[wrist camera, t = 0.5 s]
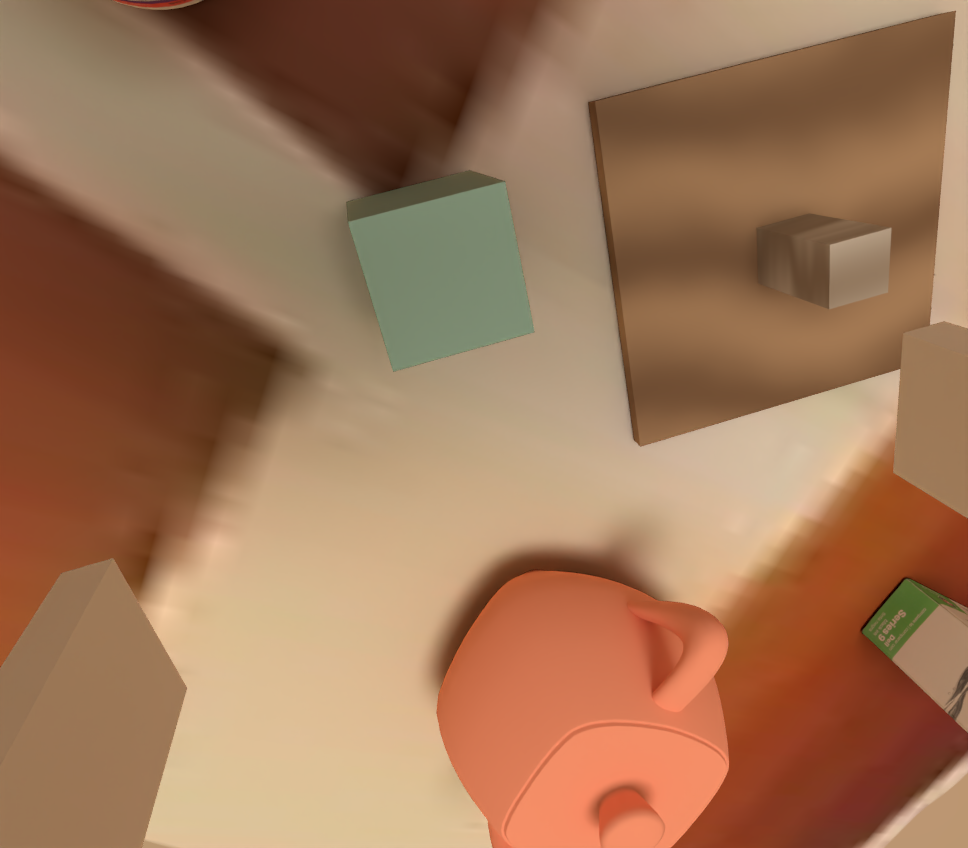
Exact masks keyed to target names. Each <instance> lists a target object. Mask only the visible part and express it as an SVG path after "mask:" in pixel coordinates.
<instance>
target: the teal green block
mask: <svg viewBox="0 0 968 848" xmlns="http://www.w3.org/2000/svg"><path fill="white" fill-rule="evenodd" d="M347 217H348V224H349V228H350V231H351V234H352V238H353V241H354V244H355V247H356V251H357V254H358V257H359V261H360V264H361V267H362V270H363V274H364V277H365V280H366V284H367V287H368V290H369V294H370V297H371V300H372V303H373V307H374V310H375V313H376V317H377V320H378V323H379V326H380V330H381V333H382V336H383V340H384V343H385V346H386V349H387V353H388V356H389V359H390V363H391V366H392V369H393V372H394V371H398V370H401V369H405V368H409V367H412V366H416V365H419V364H423V363H426V362H430V361H434V360H437V359H441V358H444V357H448V356H451V355H455V354H459V353H462V352H466V351H469V350H473V349H476V348H480V347H484V346H487V345H491V344H494V343H498V342H501V341H505V340H509V339H512V338H516V337H519V336H523V335H526V334H530V333H534V327H533V322H532V317H531V311H530V306H529V301H528V296H527V291H526V286H525V281H524V276H523V271H522V265H521V260H520V255H519V250H518V245H517V240H516V235H515V230H514V224H513V219H512V214H511V209H510V204H509V199H508V194H507V189H506V184H505V181H502V180H499V179H496V178H493V177H489V176H486V175H483V174H480V173H476V172H473V171H470V170H469V171H465V172H462V173H458V174H454V175H450V176H446V177H442V178H438V179H434V180H430V181H426V182H423V183H419V184H415V185H411V186H407V187H403V188H399V189H395V190H391V191H387V192H384V193H380V194H376V195H372V196H368V197H364V198H360V199H356V200H352V201H348V202H347Z"/></svg>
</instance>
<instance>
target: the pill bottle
mask: <svg viewBox="0 0 968 848" xmlns="http://www.w3.org/2000/svg"><path fill="white" fill-rule="evenodd" d="M112 1H114V2H117V3H120V4H124V5H128V6H131V7H136V8H142V9H153V10H168V9H175V8H182V7H185V6H189V5H192V4H196V3H198V2H200V1H202V0H112Z"/></svg>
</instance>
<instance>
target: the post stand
mask: <svg viewBox="0 0 968 848" xmlns="http://www.w3.org/2000/svg"><path fill="white" fill-rule="evenodd" d="M955 14H956V11H952V12H947V13H942V14H938V15H934V16H930V17H926V18H922V19H918V20H914V21H910V22H906V23H902V24H898V25H894V26H890V27H886V28H882V29H878V30H874V31H870V32H866V33H862V34H858V35H854V36H850V37H846V38H842V39H838V40H834V41H830V42H827V43H823V44H819V45H815V46H811V47H807V48H803V49H799V50H795V51H791V52H787V53H783V54H779V55H775V56H771V57H767V58H763V59H759V60H755V61H751V62H747V63H743V64H739V65H735V66H731V67H727V68H723V69H719V70H715V71H711V72H707V73H703V74H699V75H695V76H691V77H687V78H683V79H679V80H675V81H671V82H667V83H663V84H659V85H656V86H652V87H648V88H644V89H640V90H636V91H632V92H628V93H624V94H620V95H616V96H612V97H608V98H604V99H600V100H596V101H592V102H588V103H589V111H590V118H591V125H592V133H593V140H594V147H595V155H596V162H597V170H598V177H599V184H600V192H601V199H602V207H603V214H604V221H605V229H606V236H607V243H608V251H609V258H610V266H611V273H612V280H613V288H614V295H615V302H616V310H617V317H618V325H619V332H620V339H621V347H622V354H623V362H624V369H625V376H626V384H627V391H628V398H629V406H630V413H631V421H632V428H633V435H634V440H635V441H636V442H637V443H638V445H639V446H640V447H641V446H644V445H647V444H651V443H654V442H657V441H661V440H664V439H667V438H671V437H674V436H677V435H681V434H684V433H687V432H691V431H694V430H697V429H701V428H704V427H708V426H711V425H714V424H718V423H721V422H724V421H728V420H731V419H734V418H738V417H741V416H744V415H748V414H751V413H754V412H758V411H761V410H764V409H768V408H771V407H774V406H778V405H781V404H784V403H788V402H791V401H794V400H798V399H801V398H804V397H808V396H811V395H815V394H818V393H821V392H825V391H828V390H831V389H835V388H838V387H841V386H845V385H848V384H851V383H855V382H858V381H861V380H865V379H868V378H871V377H875V376H878V375H881V374H885V373H888V372H891V371H895V370H898V369H901V356H902V342H903V333H905V332H909V331H912V330H916V329H919V328H923V327H926V326H930V314H931V302H932V290H933V278H934V266H935V254H936V242H937V230H938V218H939V206H940V194H941V182H942V170H943V158H944V146H945V134H946V122H947V110H948V98H949V86H950V74H951V62H952V50H953V38H954V26H955Z"/></svg>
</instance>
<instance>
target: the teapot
mask: <svg viewBox="0 0 968 848" xmlns="http://www.w3.org/2000/svg"><path fill="white" fill-rule="evenodd" d="M727 649H728V636H727V632H726V630H725V628H724V626H723V625H722V624H721V623H720V622H719V620H718V619H717V618H715V617H714V616H713V615H711V614H710V613H709V612H707V611H705V610H703V609H701V608H699V607H696V606H693V605H689V604H685V603H678V602H669V601H657V600H655V599H654V598H652V597H650V596H649V595H647V594H645V593H643V592H641V591H639V590H636V589H634V588H631V587H629V586H626V585H624V584H621V583H618V582H615V581H612V580H608V579H605V578H601V577H596V576H591V575H586V574H580V573H572V572H562V571H545V570H540V569H535V570H530V571H528V572H525V573H524V574H522V575H520V576H517V577H515V578H513V579H511V580H510V581H508V582H507V583H506V584H505V585H503V586H502V587H501V588H500V589H499V590H498V591H497V593H496V594H495V595H494V596H493V597H492V598H491V599H490V601H489V602H488V603H487V605H486V606H485V608H484V609H483V610H482V612H481V613H480V615H479V616H478V617H477V619H476V620H475V622H474V623H473V625H472V627H471V628H470V630H469V631H468V633H467V634H466V636H465V638H464V639H463V641H462V643H461V645H460V647H459V649H458V650H457V652H456V654H455V656H454V658H453V661H452V663H451V665H450V667H449V669H448V671H447V673H446V676H445V678H444V681H443V684H442V686H441V689H440V692H439V695H438V703H437V717H438V722H439V727H440V733H441V736H442V739H443V742H444V745H445V748H446V751H447V753H448V756H449V758H450V761H451V763H452V765H453V767H454V769H455V771H456V773H457V775H458V777H459V779H460V780H461V782H462V784H463V786H464V787H465V789H466V790H467V792H468V793H469V795H470V796H471V798H472V799H473V801H474V802H475V804H476V805H477V806H478V808H479V809H480V810H481V812H482V813H483V814H484V816H485V817H486V818H487V820H488V827H489V833H490V839H491V843H492V847H493V848H671V847H672V846H673V845H674V844H675V843H676V842H677V841H678V840H679V839H680V837H681V836H682V835H683V834H684V833H685V832H686V831H687V830H688V828H689V827H690V826H691V825H692V824H693V822H694V821H695V820H696V819H697V818H698V816H699V815H700V814H701V813H702V811H703V810H704V809H705V808H706V806H707V805H708V804H709V802H710V801H711V799H712V798H713V797H714V795H715V794H716V792H717V791H718V789H719V787H720V786H721V784H722V782H723V781H724V778H725V776H726V774H727V772H728V769H729V757H728V743H727V737H726V730H725V723H724V717H723V711H722V706H721V702H720V697H719V693H718V689H717V686H716V682H715V679H714V675H715V674H716V672H717V671H718V669H719V668H720V666H721V664H722V663H723V661H724V658H725V656H726V654H727Z"/></svg>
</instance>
